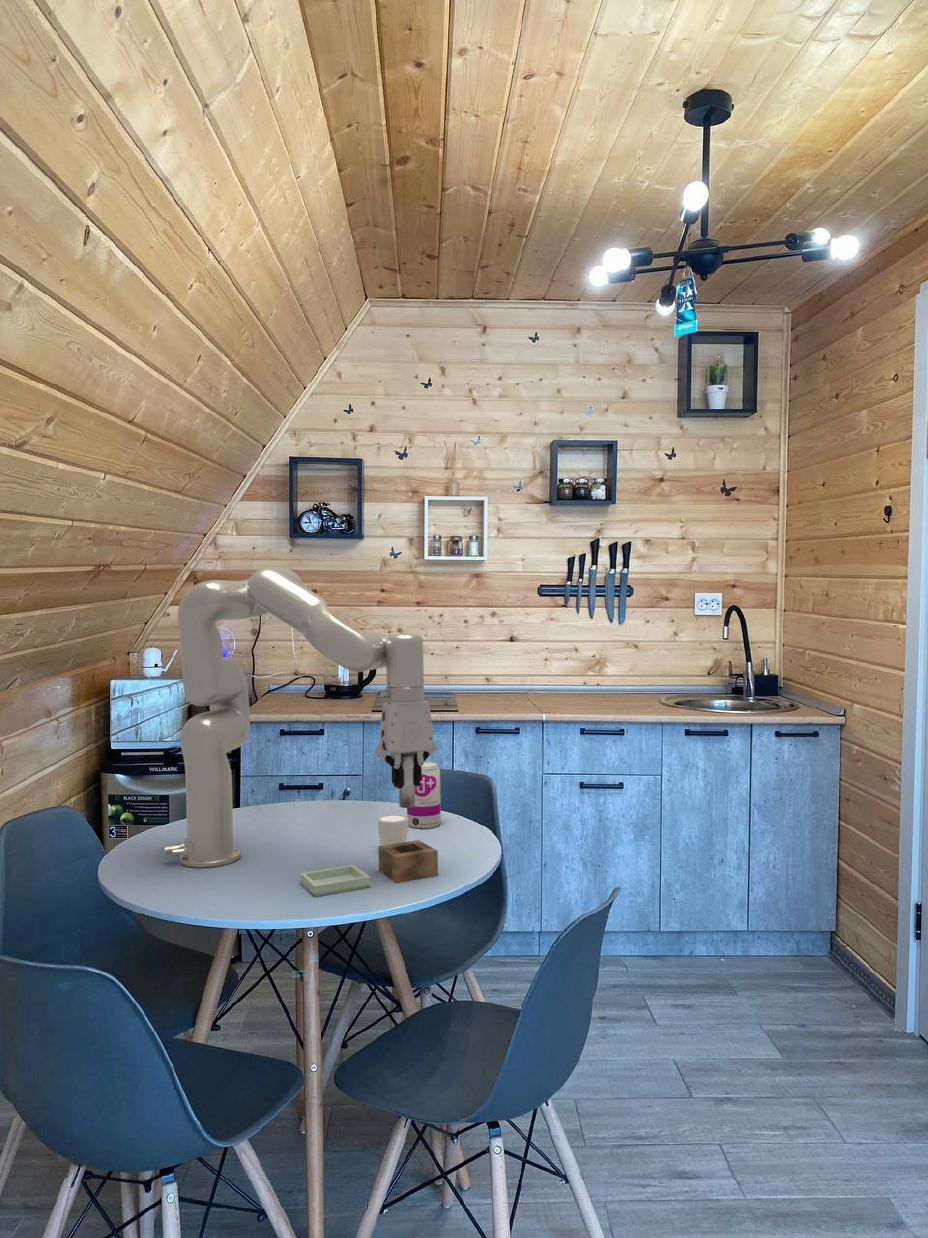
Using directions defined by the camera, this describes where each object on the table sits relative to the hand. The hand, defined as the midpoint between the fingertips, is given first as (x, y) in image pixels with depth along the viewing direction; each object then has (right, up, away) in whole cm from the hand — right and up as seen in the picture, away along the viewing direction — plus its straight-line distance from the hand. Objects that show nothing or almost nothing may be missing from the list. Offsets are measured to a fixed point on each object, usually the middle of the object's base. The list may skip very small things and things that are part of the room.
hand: (406, 785), depth 177 cm
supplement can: (+2, -17, +38) cm, 42 cm away
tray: (-13, -18, -7) cm, 24 cm away
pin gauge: (0, -4, 0) cm, 4 cm away
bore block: (0, -18, 0) cm, 18 cm away
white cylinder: (-4, -18, +17) cm, 25 cm away
